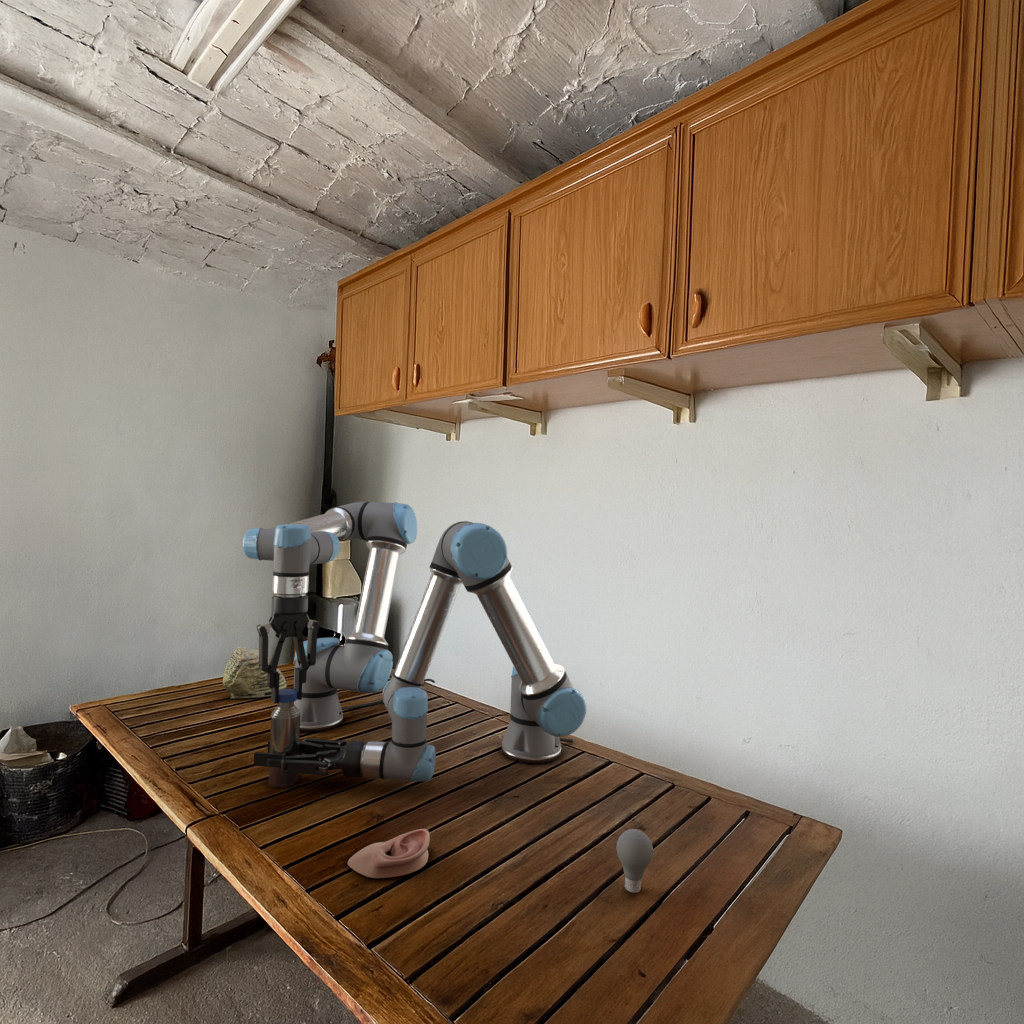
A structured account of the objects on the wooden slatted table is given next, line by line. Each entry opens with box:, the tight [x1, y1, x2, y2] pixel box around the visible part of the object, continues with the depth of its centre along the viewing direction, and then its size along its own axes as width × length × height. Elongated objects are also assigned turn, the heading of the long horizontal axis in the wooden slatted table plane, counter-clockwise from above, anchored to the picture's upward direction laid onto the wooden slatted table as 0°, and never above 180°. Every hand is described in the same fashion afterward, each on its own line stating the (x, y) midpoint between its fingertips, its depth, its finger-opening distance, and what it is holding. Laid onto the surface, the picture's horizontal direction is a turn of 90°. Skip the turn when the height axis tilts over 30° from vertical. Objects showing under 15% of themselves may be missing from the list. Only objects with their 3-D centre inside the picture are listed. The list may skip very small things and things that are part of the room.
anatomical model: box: [347, 828, 431, 879], centre depth 111 cm, size 13×4×12 cm
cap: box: [279, 688, 298, 703], centre depth 140 cm, size 5×5×2 cm
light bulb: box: [615, 828, 654, 894], centre depth 106 cm, size 6×6×10 cm
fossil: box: [222, 646, 288, 699], centre depth 198 cm, size 9×18×15 cm, turn 132°
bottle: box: [268, 702, 301, 788], centre depth 140 cm, size 6×6×19 cm
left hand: (286, 699), depth 140 cm, fingers closed on cap, 4 cm apart
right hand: (261, 752), depth 140 cm, fingers closed on bottle, 6 cm apart
